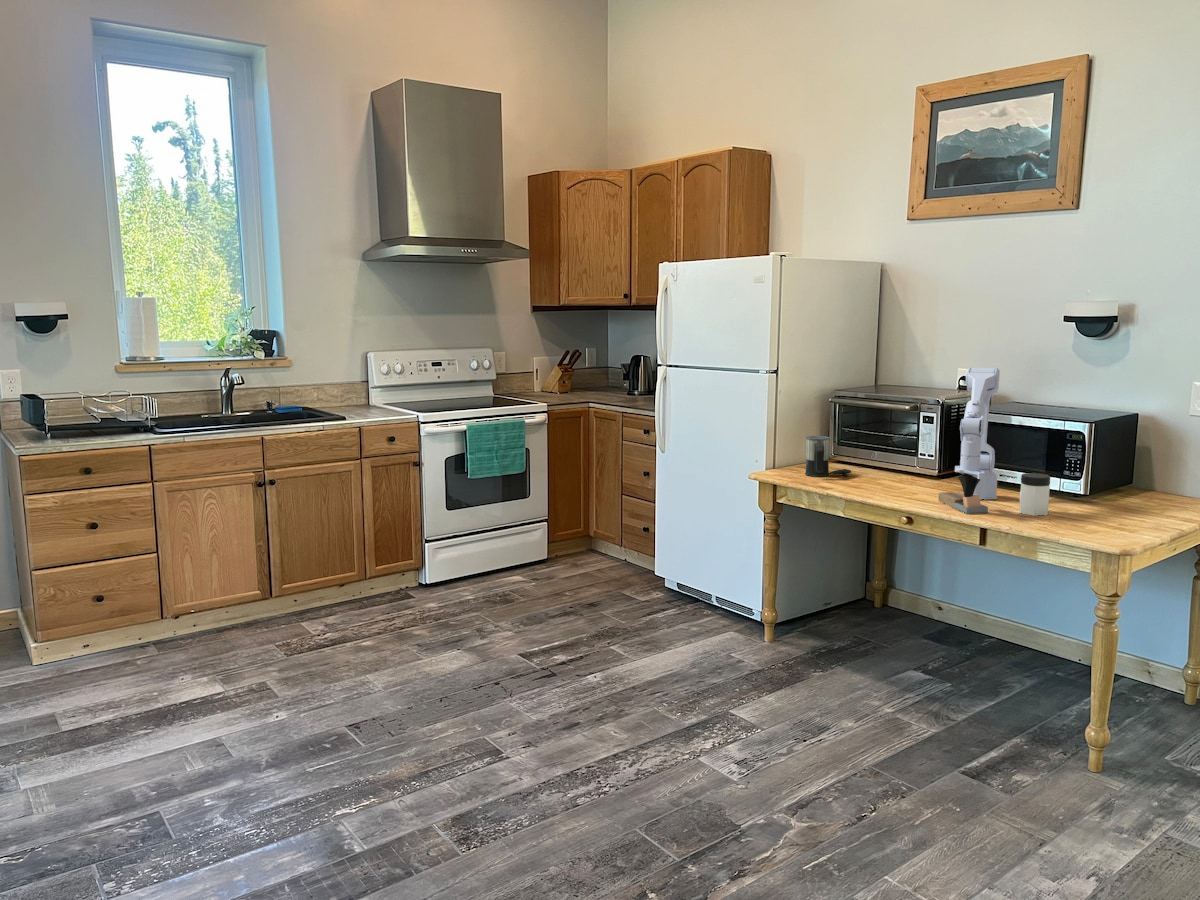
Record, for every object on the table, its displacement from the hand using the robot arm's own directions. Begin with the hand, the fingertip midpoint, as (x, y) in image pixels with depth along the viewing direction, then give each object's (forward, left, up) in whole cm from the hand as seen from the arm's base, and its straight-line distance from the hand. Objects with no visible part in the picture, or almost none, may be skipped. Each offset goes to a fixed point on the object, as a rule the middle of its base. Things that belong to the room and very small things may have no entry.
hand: (968, 498), depth 274 cm
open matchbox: (-2, -10, -5) cm, 11 cm away
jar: (-19, +5, -5) cm, 20 cm away
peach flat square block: (-1, -1, -2) cm, 2 cm away
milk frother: (+22, -64, -5) cm, 68 cm away
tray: (-2, -1, -5) cm, 5 cm away
